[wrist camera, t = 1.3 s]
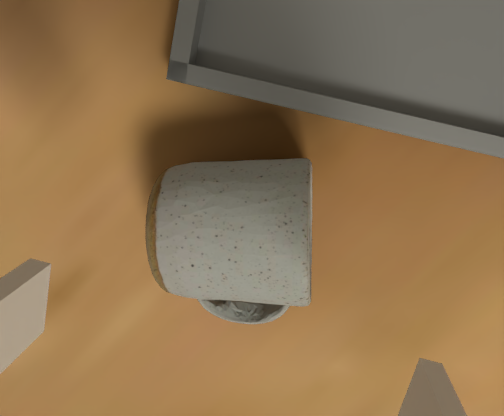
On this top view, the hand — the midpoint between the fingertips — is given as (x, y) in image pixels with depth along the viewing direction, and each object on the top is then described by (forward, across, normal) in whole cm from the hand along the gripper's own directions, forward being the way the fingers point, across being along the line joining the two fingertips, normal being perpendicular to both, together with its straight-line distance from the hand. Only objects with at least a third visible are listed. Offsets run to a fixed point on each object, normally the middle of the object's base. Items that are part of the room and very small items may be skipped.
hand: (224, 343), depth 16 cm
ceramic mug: (+13, 0, 0) cm, 13 cm away
